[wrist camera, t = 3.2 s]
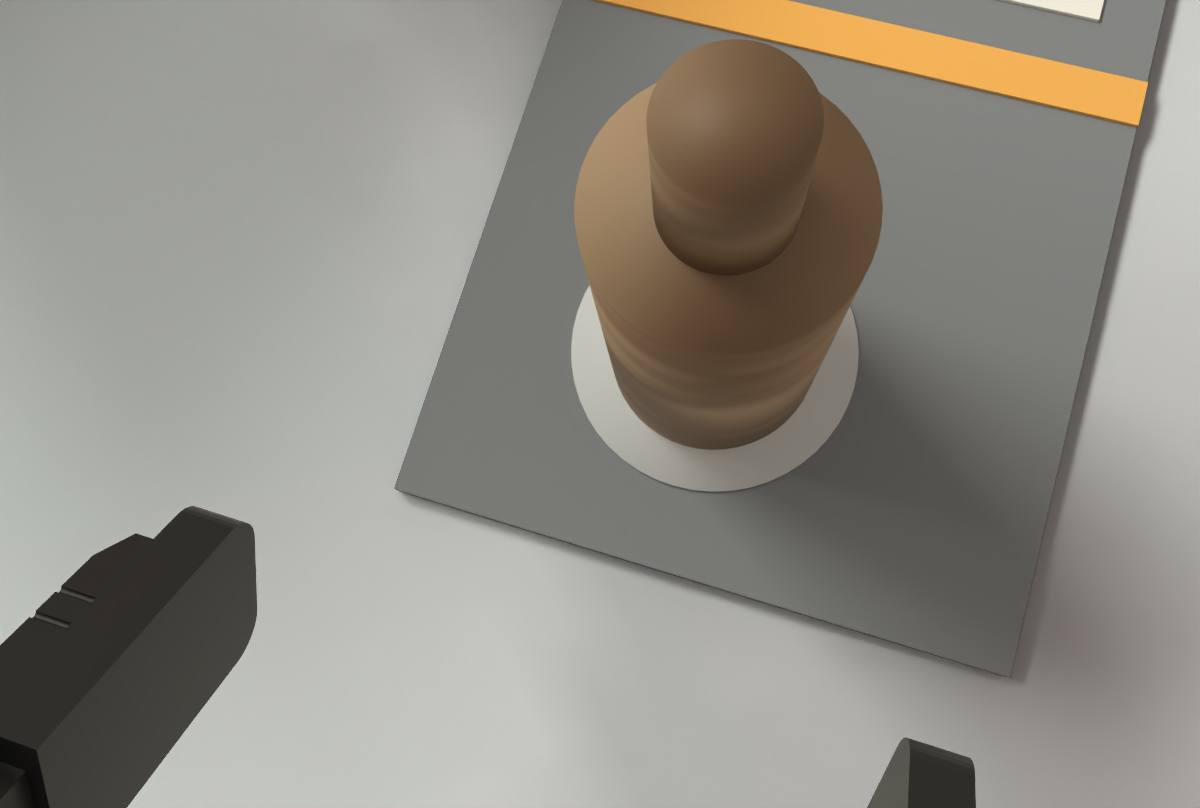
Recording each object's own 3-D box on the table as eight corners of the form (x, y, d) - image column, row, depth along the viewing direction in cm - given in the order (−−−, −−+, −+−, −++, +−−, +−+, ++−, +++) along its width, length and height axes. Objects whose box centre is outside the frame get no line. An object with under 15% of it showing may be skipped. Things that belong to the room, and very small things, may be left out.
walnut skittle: (585, 417, 26) (505, 240, 14) (644, 230, 27) (612, -78, 15) (786, 475, 26) (870, 339, 14) (839, 281, 26) (961, -1, 15)
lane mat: (398, 490, 27) (393, 487, 26) (681, -332, 31) (681, -348, 31) (1005, 676, 25) (1011, 677, 24) (1215, -233, 29) (1224, -248, 29)
